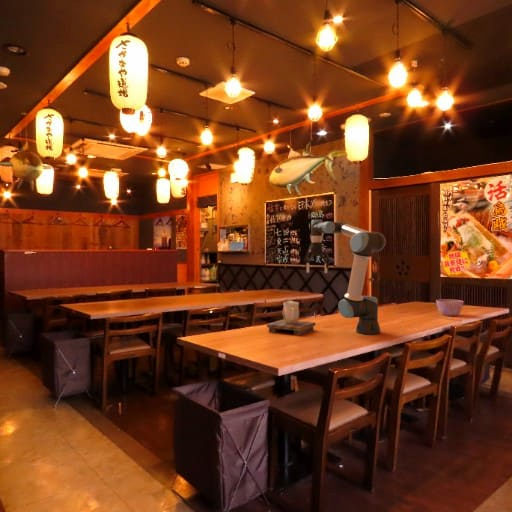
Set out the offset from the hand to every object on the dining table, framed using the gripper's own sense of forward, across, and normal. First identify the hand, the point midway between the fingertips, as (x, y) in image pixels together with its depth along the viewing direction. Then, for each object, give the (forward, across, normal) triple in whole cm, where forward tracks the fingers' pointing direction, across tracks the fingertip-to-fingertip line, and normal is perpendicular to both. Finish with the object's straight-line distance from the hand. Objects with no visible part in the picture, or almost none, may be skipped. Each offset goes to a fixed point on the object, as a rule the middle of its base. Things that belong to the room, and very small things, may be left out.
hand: (316, 272), depth 297 cm
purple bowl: (+37, -72, -91) cm, 122 cm away
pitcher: (+32, +6, +27) cm, 42 cm away
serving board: (+37, +6, +27) cm, 46 cm away
